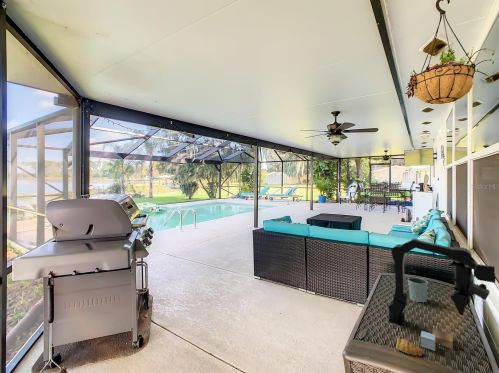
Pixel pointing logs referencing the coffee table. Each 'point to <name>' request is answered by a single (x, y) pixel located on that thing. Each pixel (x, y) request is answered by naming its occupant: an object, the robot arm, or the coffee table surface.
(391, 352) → the coffee table surface
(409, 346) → the pastry
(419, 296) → the drinking glass
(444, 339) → the walnut block
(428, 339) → the cube
